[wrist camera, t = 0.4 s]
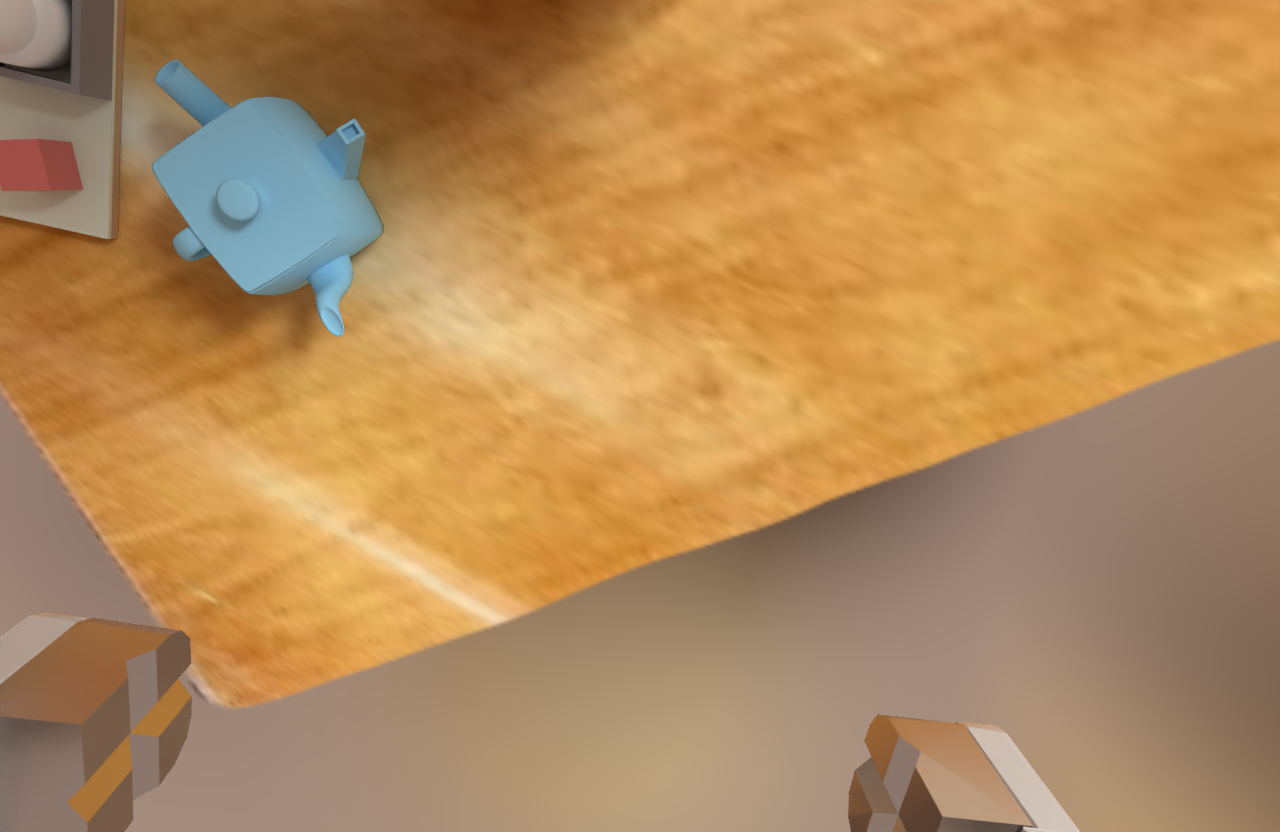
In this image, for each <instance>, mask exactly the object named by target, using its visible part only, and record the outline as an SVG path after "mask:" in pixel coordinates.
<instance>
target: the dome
mask: <svg viewBox="0 0 1280 832" xmlns="http://www.w3.org/2000/svg"><path fill="white" fill-rule="evenodd" d="M71 56H72V0H0V62H2V63H7V64H11V65H16V66H20V67H25V68H29V69H34V70H39V71H55V70H59V69H61V68H64V67H65V66H67V65H69V64H70V63H71Z"/></svg>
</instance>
